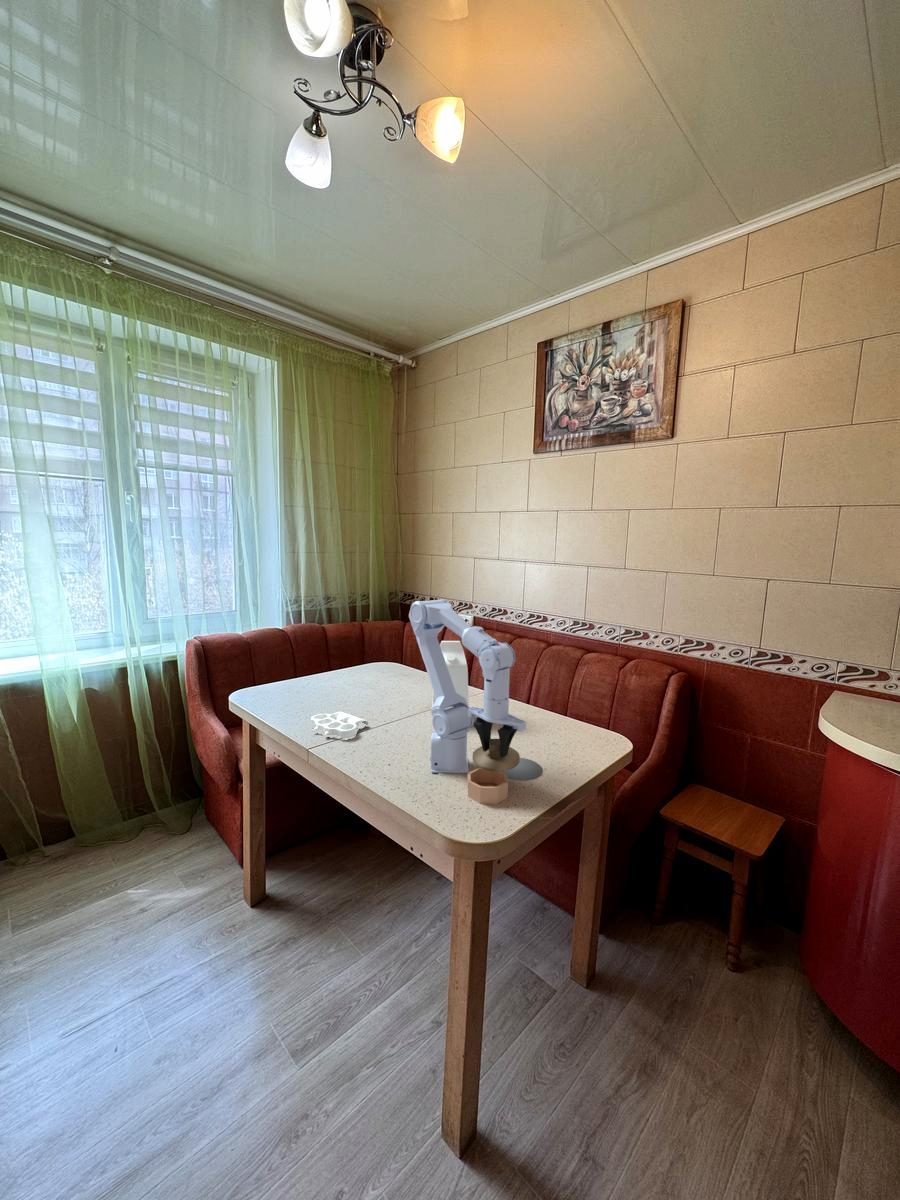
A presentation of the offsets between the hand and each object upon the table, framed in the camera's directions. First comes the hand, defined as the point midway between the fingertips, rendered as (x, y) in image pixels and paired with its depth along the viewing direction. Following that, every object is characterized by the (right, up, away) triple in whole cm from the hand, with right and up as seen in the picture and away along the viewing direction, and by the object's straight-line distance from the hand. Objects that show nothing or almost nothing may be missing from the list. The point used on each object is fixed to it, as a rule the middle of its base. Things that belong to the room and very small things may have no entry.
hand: (495, 752), depth 105 cm
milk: (-11, -4, +45) cm, 46 cm away
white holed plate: (-45, -5, +34) cm, 57 cm away
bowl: (-2, -9, -1) cm, 9 cm away
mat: (+7, -8, +10) cm, 15 cm away
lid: (0, -2, +1) cm, 2 cm away
